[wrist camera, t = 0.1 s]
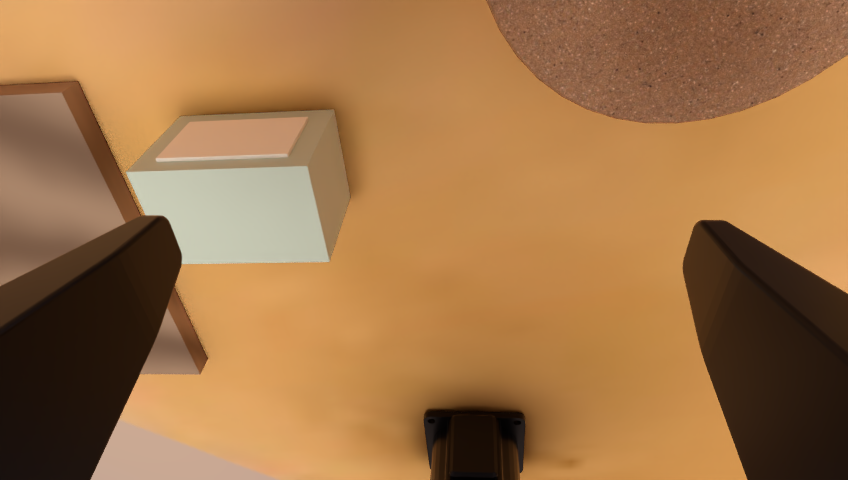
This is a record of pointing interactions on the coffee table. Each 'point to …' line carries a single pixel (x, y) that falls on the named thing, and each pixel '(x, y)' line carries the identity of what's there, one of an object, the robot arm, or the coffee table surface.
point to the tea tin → (248, 186)
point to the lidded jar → (673, 51)
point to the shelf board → (70, 199)
